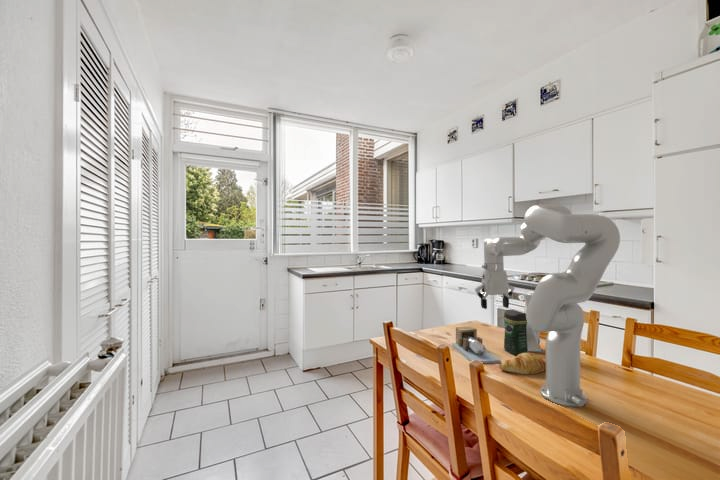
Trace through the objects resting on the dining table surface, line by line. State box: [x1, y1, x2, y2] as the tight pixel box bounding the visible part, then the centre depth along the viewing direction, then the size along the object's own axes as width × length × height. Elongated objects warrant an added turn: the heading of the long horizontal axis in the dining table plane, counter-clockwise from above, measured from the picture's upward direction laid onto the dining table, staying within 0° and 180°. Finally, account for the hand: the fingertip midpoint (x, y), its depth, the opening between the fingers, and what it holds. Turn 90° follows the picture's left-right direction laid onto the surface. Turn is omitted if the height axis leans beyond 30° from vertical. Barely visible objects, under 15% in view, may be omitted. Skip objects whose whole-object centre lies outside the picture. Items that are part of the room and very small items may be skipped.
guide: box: [463, 336, 483, 351], centre depth 144 cm, size 3×8×5 cm, turn 96°
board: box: [451, 342, 502, 364], centre depth 143 cm, size 22×12×1 cm, turn 6°
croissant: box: [498, 352, 546, 375], centre depth 125 cm, size 21×10×8 cm, turn 94°
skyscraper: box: [522, 291, 546, 354], centre depth 146 cm, size 8×8×28 cm
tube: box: [462, 334, 487, 355], centre depth 144 cm, size 14×5×5 cm, turn 6°
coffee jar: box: [503, 309, 529, 356], centre depth 144 cm, size 10×8×19 cm
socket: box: [455, 326, 478, 346], centre depth 151 cm, size 4×8×8 cm, turn 96°
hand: (495, 307), depth 136 cm, fingers open, 9 cm apart
